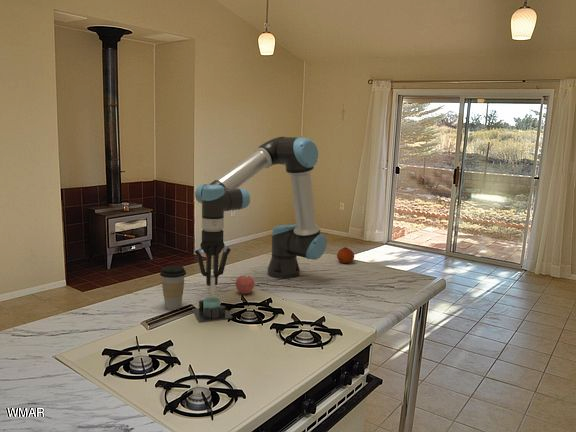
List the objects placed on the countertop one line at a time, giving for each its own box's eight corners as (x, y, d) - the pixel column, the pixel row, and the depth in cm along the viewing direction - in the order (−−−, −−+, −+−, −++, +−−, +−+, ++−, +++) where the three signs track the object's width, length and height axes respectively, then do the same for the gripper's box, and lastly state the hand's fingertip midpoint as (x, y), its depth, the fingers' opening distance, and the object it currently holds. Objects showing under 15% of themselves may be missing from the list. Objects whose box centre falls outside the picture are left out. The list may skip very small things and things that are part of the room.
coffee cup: (163, 313, 172) (163, 273, 169) (157, 304, 180) (157, 266, 178) (189, 309, 177) (189, 270, 174) (182, 301, 185) (182, 263, 182)
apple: (257, 293, 196) (258, 274, 195) (244, 297, 191) (244, 278, 190) (245, 288, 201) (245, 270, 200) (232, 292, 196) (232, 274, 195)
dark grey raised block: (192, 310, 176) (192, 299, 175) (223, 306, 181) (224, 296, 180) (198, 322, 165) (198, 311, 165) (232, 318, 170) (232, 307, 169)
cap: (201, 311, 174) (201, 297, 173) (217, 309, 177) (217, 295, 176) (205, 317, 169) (205, 303, 168) (221, 315, 171) (222, 301, 170)
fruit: (349, 266, 240) (350, 250, 239) (333, 262, 245) (334, 247, 244) (357, 262, 248) (358, 247, 246) (341, 259, 252) (342, 244, 251)
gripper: (196, 232, 161) (195, 299, 166) (233, 230, 166) (232, 295, 171) (191, 228, 168) (191, 292, 172) (227, 226, 173) (226, 288, 177)
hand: (211, 293), depth 171 cm, fingers closed
